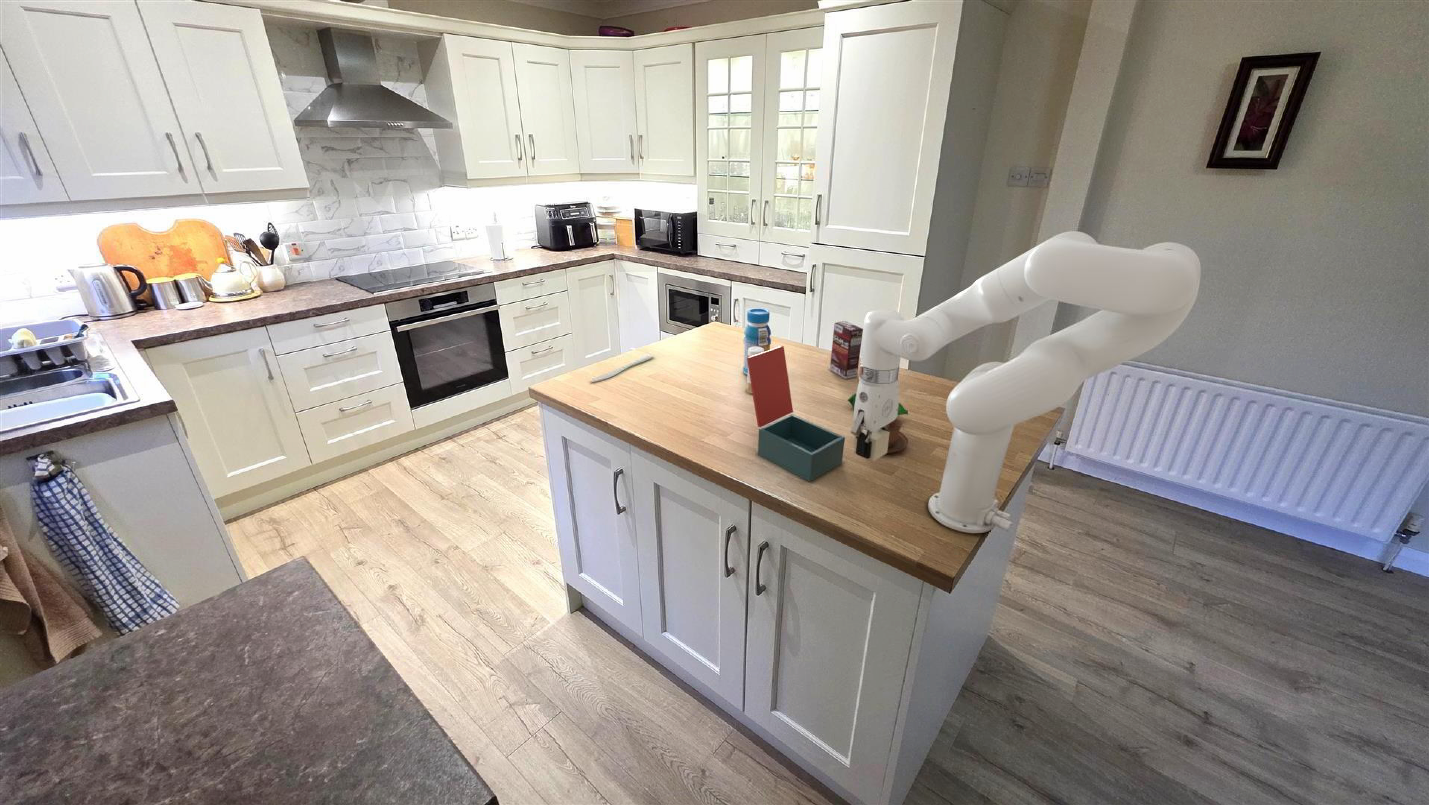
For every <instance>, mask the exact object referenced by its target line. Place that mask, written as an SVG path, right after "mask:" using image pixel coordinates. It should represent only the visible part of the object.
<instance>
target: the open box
mask: <svg viewBox="0 0 1429 805" xmlns="http://www.w3.org/2000/svg"><path fill="white" fill-rule="evenodd" d="M845 439H846V437H845V436H843V435H841V434H838V433H836V432H834V431H832V430H829V429H827V428H825V427H823V426H821V425H819V424H815V423H813V422H811V421H809V420H807V419H805V418H802V417H800V416H798V415H796V414H793V413H790V414H788V415H786V416H784V417H781V418H779V419H777V420H775V421H773V422H770V423H768V424H766V425H764V426H762V427H759V428H758V439H757V440H758V441H757V455H759V456H761V457H763V458H764V459H766V460H768V461H769V462H771V463H774V464H775V465H777V466H779V467H781V468H783V469H785V470H786V471H788V472H790V473H792V474H794V475H796V476H797V477H799V478H801V479H803V480H805V481H806V482H809V483H810V482H812V481H814V480H816V479H817V478H819V477H821V476H822V475H824V474H826V473H827V472H829V471H831V470H834V468H836V467H838V466H839V465H841V464H842V463H843V456H844V448H845Z"/></svg>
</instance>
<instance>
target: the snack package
mask: <svg viewBox="0 0 1429 805" xmlns="http://www.w3.org/2000/svg"><path fill="white" fill-rule="evenodd" d="M856 394H857V392H855V393H854V394H852V395H851V396H850V397H849V398H848V399H847V402H849V404H850V405H851V406H852V408H853V409H854V406H855V400H856ZM903 415H907V416H909V410H908V409H906V408H905V407H904V406H903V405H902V404H901V403H900V402H899V404H898V414H897V417H899V416H903Z"/></svg>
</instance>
